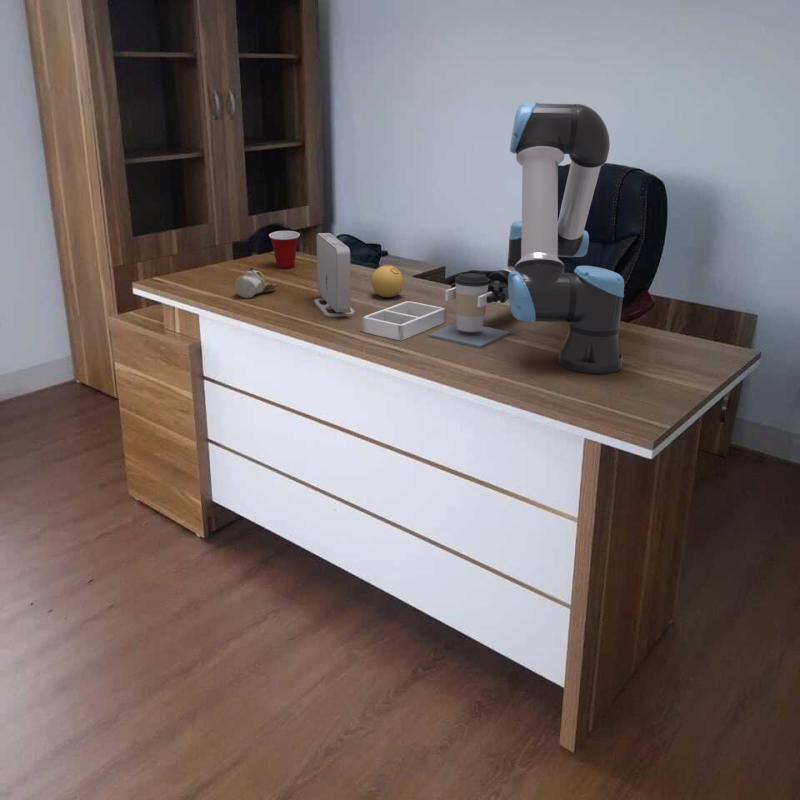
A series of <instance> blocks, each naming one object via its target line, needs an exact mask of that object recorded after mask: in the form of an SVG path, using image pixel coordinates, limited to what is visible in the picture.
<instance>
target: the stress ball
mask: <svg viewBox="0 0 800 800" xmlns="http://www.w3.org/2000/svg"><path fill="white" fill-rule="evenodd" d="M403 286H404V277H403V274H402V272H401V271H400V270H399V269H398V268H397V267H395V266H393V265H391V264H384V265H381V266H379V267H377V268H376V269H375V271H374V272H373V273H372V276H371V287H372V289H373V291H374V292H375V294H377V295H378V296H380V297H381V298H392V297H396V296H397V297H398V295H399V294H401V292H402V291H403Z"/></svg>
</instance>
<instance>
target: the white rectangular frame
mask: <svg viewBox="0 0 800 800" xmlns="http://www.w3.org/2000/svg"><path fill="white" fill-rule="evenodd" d="M446 320H447V308H446V307H441V306H437V305H431V304H425V303H421V302H416V301H411V300H407V301H403V302H400V303H397V304H395V305H391V306H390V307H387V308H384V309H381V310H378V311H375V312H372V313H370V314H367V315H364V316H361V332H362V333H365V334H366V333H367V334H369V335H370V334H371V335H375V336H379V337H384V338H388V339H392V340H397V341H404V340H406V339H408V338H411V337H413V336H416V335H418V334H421V333H422V332H426V331H427V330H430V329H433V328H435V327H438V326H440V325H442V324H444V323H445V324H446Z"/></svg>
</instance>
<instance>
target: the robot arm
mask: <svg viewBox="0 0 800 800" xmlns="http://www.w3.org/2000/svg"><path fill="white" fill-rule="evenodd" d="M511 132H512V133H511V139H510V148H509V152H510V153H512V154H515V156H516V157H515V158H516V162H517V164H518V165H520V166H522V169H521V170H522V171H521V172H522V173H521V174H522V175H521V177H522V179H521V185H522V186H521V220H517V221H513V222H512V223H511V224H510V229H509V237H508V255H507V263H506V264H507V265H506V266H507V267H503V268H500V269H498V270H495V271H493V272H491V273H490V274H489V275H488V276H486V277H487V278H489V285H488V293H486V294H483V295H481V296H478V304H477V307H482V306H484V305H486V306H487V305H489V304H491V303H498V301H499V302H500V304H504V303H506V302H507V301H509V302H508V303H509V307H510V313H511V314H512V316H513V317H514V319H516V320H518V321H523V322H524V321H525V322H531V323H535V322H542V323H543V322H547V323H549V322H551V323H554V322H555V323H569V327H568V332H567V335H566V337H565V339H564V342H563V345H562V348H561V349H560V350H559V354H558V363H559V364H560V365H561V366H562V367H564V368H566V369H568V370H572V371H574V372H579V373H585V374H592V375H593V374H595V375H597V374H598V375H601V374H603V375H604V374H611V373H615V372H618V371H620V370H621V369H622V367H623V360H624V359H623V353H622V348H621V343H620V338H619V332H620V324H621V323H620V322H621V315H622V308H623V299H624V297H625V293H624V292H625V279H624V277H623V276H622V275H620V273H617V272H615V271H612V270H610V269H607V268H603V267H599V266H592V265H577V266H576V267H575V268H574V271H573V272H565V264H564V262H563V261H562V260H560V259H559V258H560V257H562V258H576V257H577V258H581V257H584V256H586V255H587V253H588V250H589V244H590V240H589V239H590V236H589V232H588V231H587V230H585V228H586V223H587V220H588V216H589V212H590V208H591V205H592V201H593V198H594V197H593V196H594V193H595V189H596V186H597V182H598V179H599V176H600V175H599V174H600V172H601V167H602V166H604V165H605V164H606V162H607V160H608V157H609V154H610V153H609V152H610V145H611V144H610V143H611V142H610V135H609V131H608V128H607V125H606V123H605V122H604V120H603V118H602V117H601V116H600V114H598V112H597V111H595V110H594V108H591V107H590V106H587V105H585V104H581V103H573V104H572V103H539V102H533V103H531V102H530V103H522V104H520V105H519V106H518V107H517V109H516V112H515V116H514V121H513V128H512V131H511ZM565 155H568V156H569V159H570V160H571V161H570V166H569V170H568V175H567V179H566V183H565V188H564V193H563V198H562V202H561V206H560V207H561V208H560V212H559V210H558V209H559V206H558V205H559V203H558V201H559V165H560V164H561V163H562V162H563V161H565V160H564V159H565ZM558 212H559V213H558ZM558 214H559V216H558ZM450 285H451V286H450V288H448V289H446V290H445V297H444V301H446V302H449V301H452V300H454V299H456V295H455V291H456V283H455V282H453V283H451V284H450Z"/></svg>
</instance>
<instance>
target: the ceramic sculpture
mask: <svg viewBox="0 0 800 800" xmlns="http://www.w3.org/2000/svg"><path fill="white" fill-rule="evenodd" d="M278 285H279V284H278V283H273V282H267V280H266V277H265V275H264V274H263V272H261V271H258V270H256V269H254V267H250V268H249V269H246V271H245V272H244V274H243V275H240V276H239V277H237V279H236V280H235V282H234V290H235V292H236V294H237V295H238V296H240V297H241V298H244V299H249V298H253V297H254V296H255V295H258V294H262V293H263V292H271V291H273V290H274V289H276V288H277V286H278Z"/></svg>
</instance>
